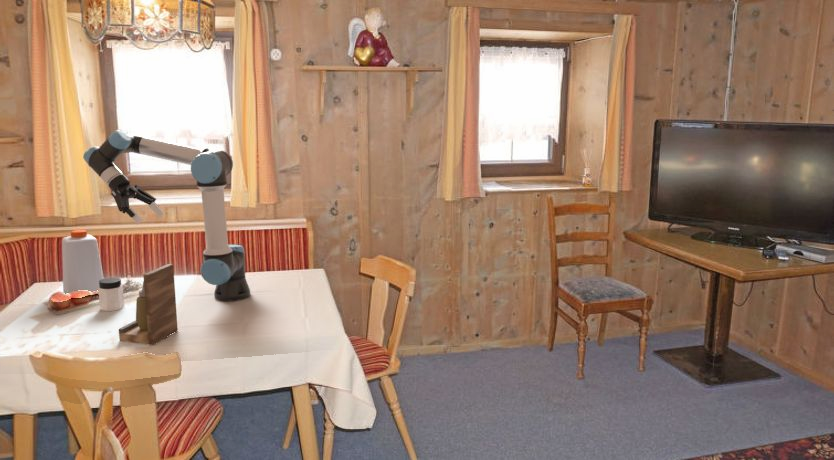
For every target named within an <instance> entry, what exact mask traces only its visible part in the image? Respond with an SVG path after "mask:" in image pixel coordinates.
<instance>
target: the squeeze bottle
mask: <svg viewBox="0 0 834 460" xmlns="http://www.w3.org/2000/svg"><path fill="white" fill-rule="evenodd" d="M135 304H136V305H135V306H136V308H135V310H136V311H135V320H136V322H137V324H138V326H139V328H140V330H143V331H148V327H147V315H146V302H145V289H144V280H143V281H142V287H141V290H139V291H138V296H137V298H136V303H135Z"/></svg>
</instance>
